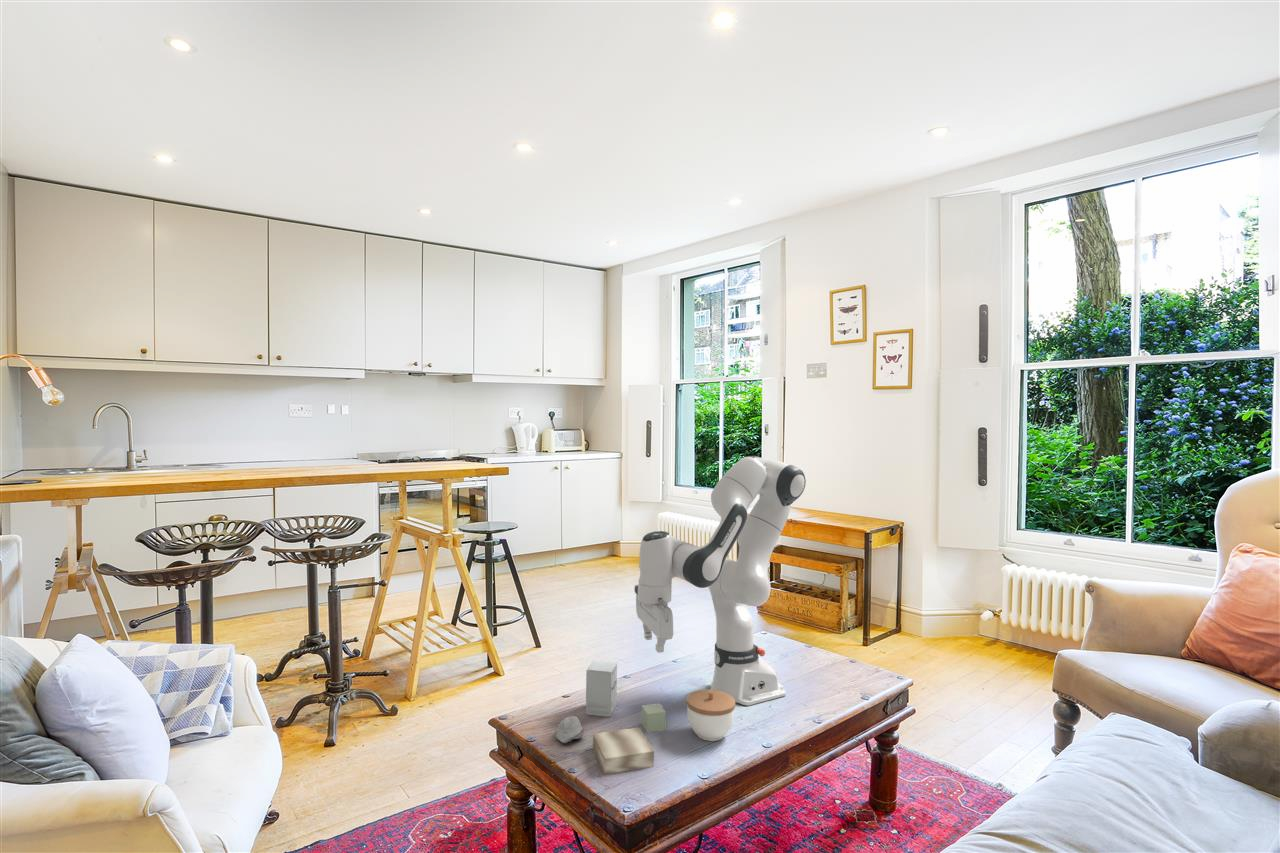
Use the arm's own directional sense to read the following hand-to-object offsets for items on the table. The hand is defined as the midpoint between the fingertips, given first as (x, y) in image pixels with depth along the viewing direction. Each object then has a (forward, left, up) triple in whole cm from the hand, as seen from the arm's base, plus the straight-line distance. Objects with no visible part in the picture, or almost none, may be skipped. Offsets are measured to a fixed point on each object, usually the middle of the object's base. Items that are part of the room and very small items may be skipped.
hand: (653, 645), depth 170 cm
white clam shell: (+22, -1, -22) cm, 32 cm away
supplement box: (+11, -13, -22) cm, 28 cm away
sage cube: (0, 0, -22) cm, 22 cm away
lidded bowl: (-13, +8, -22) cm, 27 cm away
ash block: (+12, +12, -22) cm, 28 cm away
